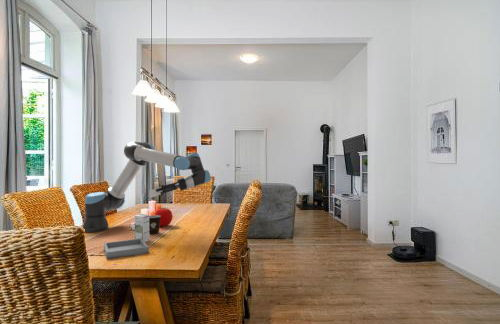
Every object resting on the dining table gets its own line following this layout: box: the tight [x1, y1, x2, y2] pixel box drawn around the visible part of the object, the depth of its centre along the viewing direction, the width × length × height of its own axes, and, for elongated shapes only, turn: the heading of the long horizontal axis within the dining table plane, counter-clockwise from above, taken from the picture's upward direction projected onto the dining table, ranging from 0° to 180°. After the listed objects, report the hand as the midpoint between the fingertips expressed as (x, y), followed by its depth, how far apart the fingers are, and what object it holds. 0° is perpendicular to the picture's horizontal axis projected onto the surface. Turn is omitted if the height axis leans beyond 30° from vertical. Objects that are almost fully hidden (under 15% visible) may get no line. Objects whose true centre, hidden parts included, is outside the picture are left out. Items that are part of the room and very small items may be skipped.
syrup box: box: [134, 213, 150, 243], centre depth 166 cm, size 6×6×14 cm
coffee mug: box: [149, 214, 160, 235], centre depth 184 cm, size 12×9×10 cm
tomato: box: [154, 207, 173, 228], centre depth 203 cm, size 12×12×13 cm
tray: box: [103, 238, 149, 260], centre depth 148 cm, size 18×18×3 cm
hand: (149, 194), depth 173 cm, fingers open, 13 cm apart
